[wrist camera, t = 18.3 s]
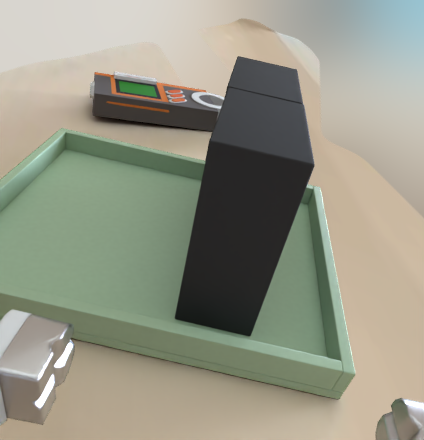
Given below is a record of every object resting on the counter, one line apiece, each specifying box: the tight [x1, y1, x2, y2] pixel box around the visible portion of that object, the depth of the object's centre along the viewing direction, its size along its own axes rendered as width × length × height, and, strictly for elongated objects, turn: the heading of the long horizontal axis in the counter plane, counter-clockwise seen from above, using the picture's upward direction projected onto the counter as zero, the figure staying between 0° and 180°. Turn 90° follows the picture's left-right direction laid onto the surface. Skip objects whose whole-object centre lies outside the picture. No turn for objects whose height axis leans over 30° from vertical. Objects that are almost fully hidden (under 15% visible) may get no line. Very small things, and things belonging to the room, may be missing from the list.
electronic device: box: [90, 72, 224, 131], centre depth 43 cm, size 7×3×15 cm
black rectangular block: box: [226, 56, 303, 104], centre depth 26 cm, size 4×7×10 cm, turn 173°
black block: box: [175, 87, 314, 336], centre depth 21 cm, size 4×7×10 cm, turn 172°
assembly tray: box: [0, 128, 355, 399], centre depth 26 cm, size 21×17×2 cm
